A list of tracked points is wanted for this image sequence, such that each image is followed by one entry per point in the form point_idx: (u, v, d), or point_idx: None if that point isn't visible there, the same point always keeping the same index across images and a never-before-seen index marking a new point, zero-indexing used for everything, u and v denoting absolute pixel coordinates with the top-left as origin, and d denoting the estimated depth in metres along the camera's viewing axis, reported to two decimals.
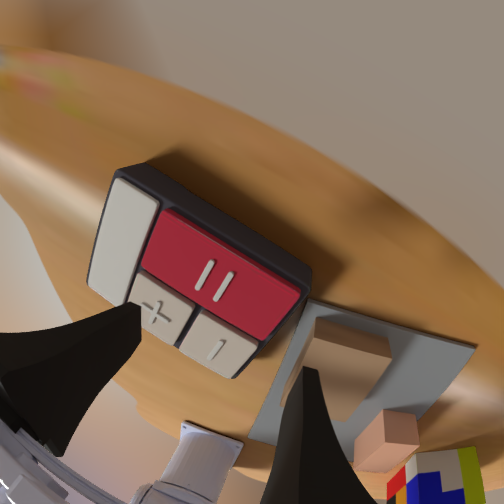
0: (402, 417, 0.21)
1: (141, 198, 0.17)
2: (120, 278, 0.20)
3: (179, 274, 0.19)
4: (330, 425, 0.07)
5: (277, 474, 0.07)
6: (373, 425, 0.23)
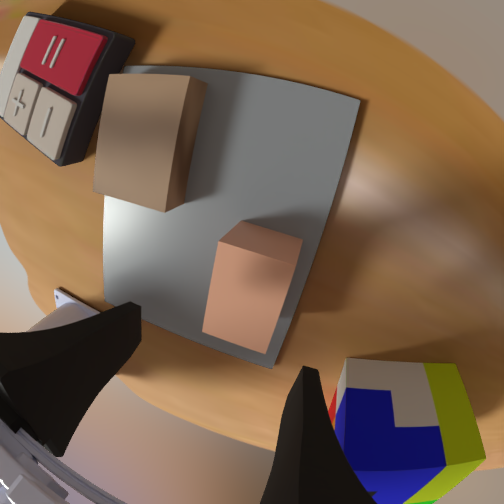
0: (274, 234, 0.17)
1: (32, 19, 0.13)
2: (8, 86, 0.16)
3: (36, 58, 0.14)
4: (330, 425, 0.07)
5: (277, 474, 0.07)
6: None
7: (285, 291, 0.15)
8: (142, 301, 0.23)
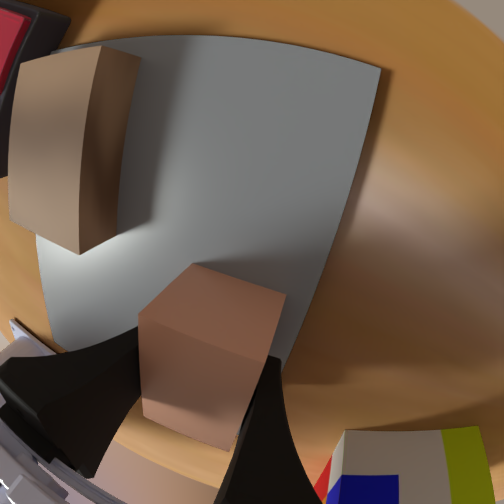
0: (239, 288, 0.11)
1: None
2: None
3: None
4: (283, 413, 0.08)
5: (231, 461, 0.07)
6: None
7: (249, 394, 0.08)
8: None
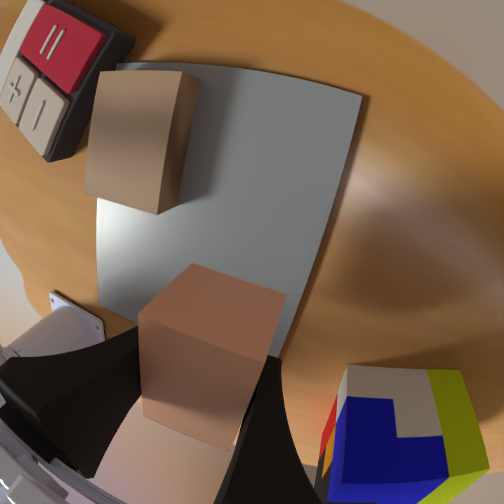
0: (239, 288, 0.11)
1: (37, 2, 0.11)
2: (6, 69, 0.14)
3: (35, 46, 0.13)
4: (283, 413, 0.08)
5: (231, 461, 0.07)
6: None
7: (249, 393, 0.08)
8: (137, 305, 0.22)
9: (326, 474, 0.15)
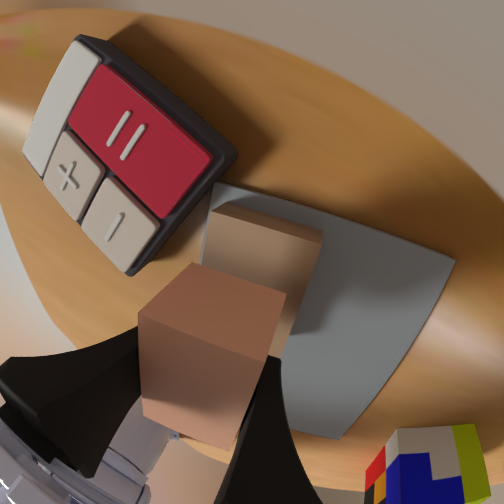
0: (239, 287, 0.11)
1: (87, 55, 0.13)
2: (49, 139, 0.16)
3: (96, 129, 0.15)
4: (283, 413, 0.08)
5: (231, 461, 0.07)
6: None
7: (249, 393, 0.08)
8: None
9: None
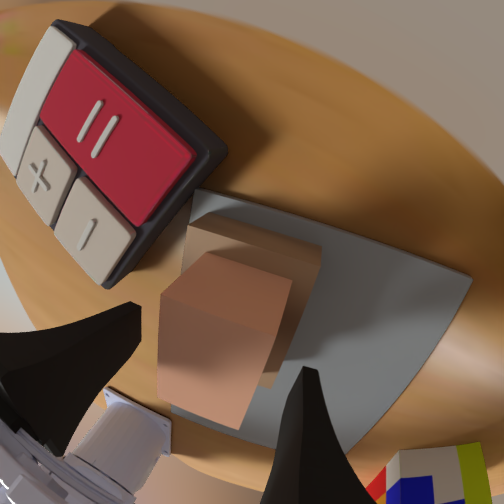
0: (250, 274, 0.12)
1: (62, 41, 0.10)
2: (22, 135, 0.13)
3: (67, 122, 0.12)
4: (330, 425, 0.07)
5: (277, 474, 0.07)
6: None
7: (261, 367, 0.09)
8: None
9: None
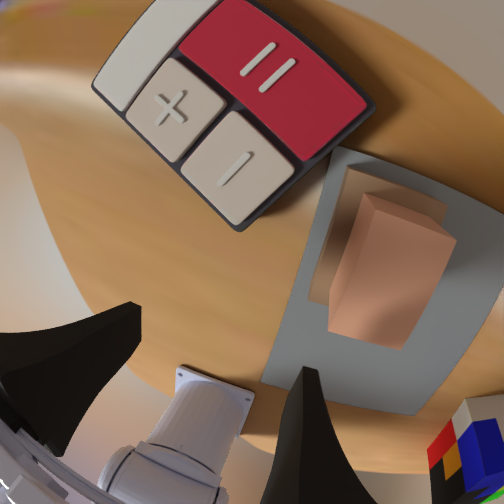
0: (405, 209, 0.13)
1: None
2: (141, 68, 0.14)
3: (224, 56, 0.13)
4: (330, 425, 0.07)
5: (277, 474, 0.07)
6: (353, 230, 0.14)
7: (441, 271, 0.11)
8: None
9: (454, 476, 0.16)
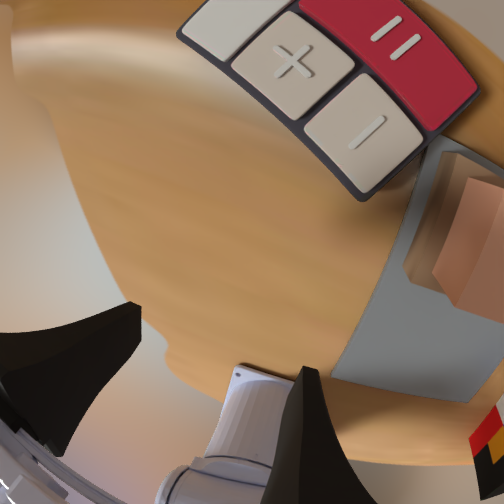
0: None
1: None
2: (250, 17, 0.12)
3: (352, 20, 0.10)
4: (330, 425, 0.07)
5: (277, 474, 0.07)
6: (462, 211, 0.12)
7: None
8: (386, 372, 0.21)
9: (502, 459, 0.14)
